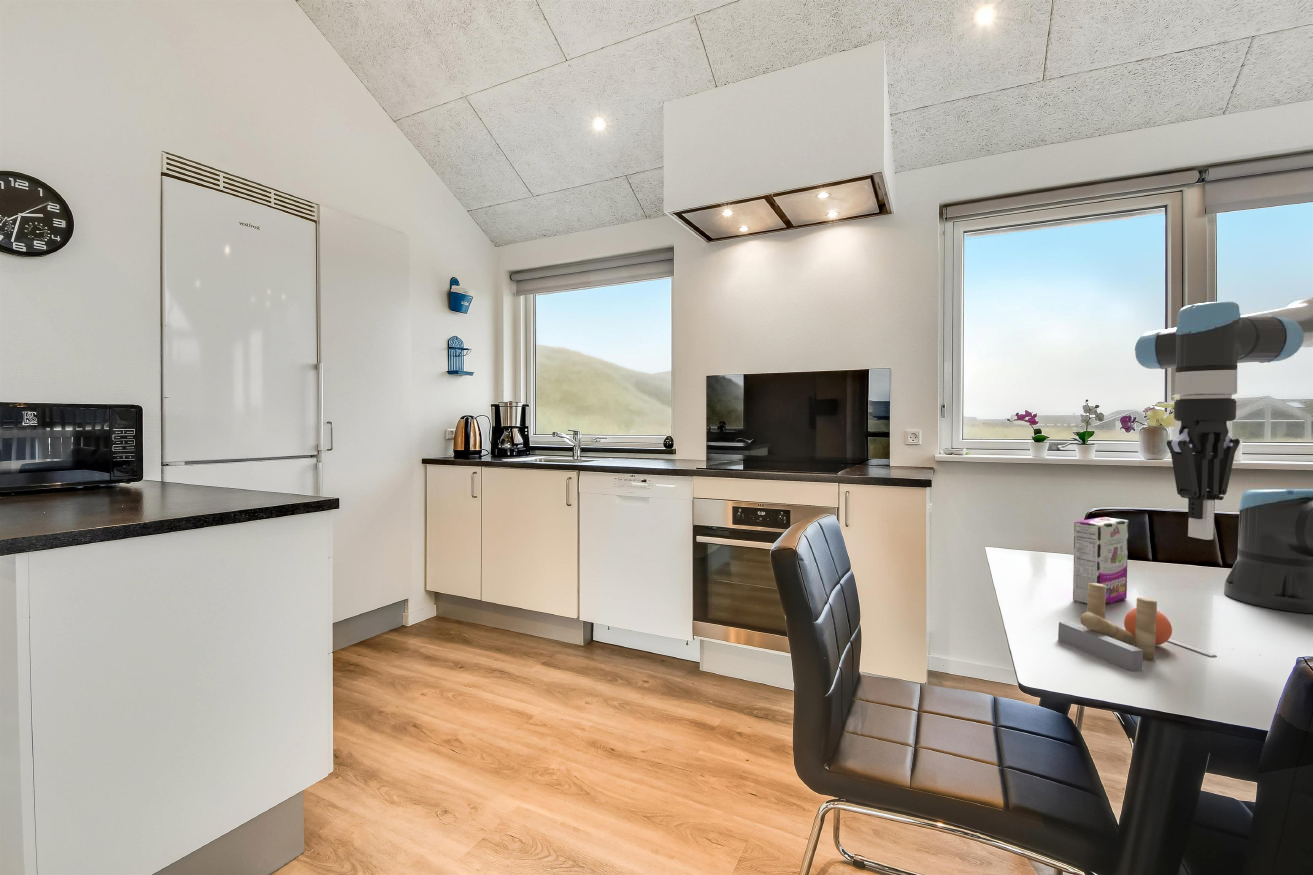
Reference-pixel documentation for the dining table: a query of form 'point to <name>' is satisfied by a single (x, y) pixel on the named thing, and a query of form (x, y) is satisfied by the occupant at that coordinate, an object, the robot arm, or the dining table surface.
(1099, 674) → the dining table surface
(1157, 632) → the ball
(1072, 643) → the rail
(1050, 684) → the dining table surface
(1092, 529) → the candy bar box
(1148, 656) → the back pin left
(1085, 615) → the front pin
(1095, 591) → the back pin right
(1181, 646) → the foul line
